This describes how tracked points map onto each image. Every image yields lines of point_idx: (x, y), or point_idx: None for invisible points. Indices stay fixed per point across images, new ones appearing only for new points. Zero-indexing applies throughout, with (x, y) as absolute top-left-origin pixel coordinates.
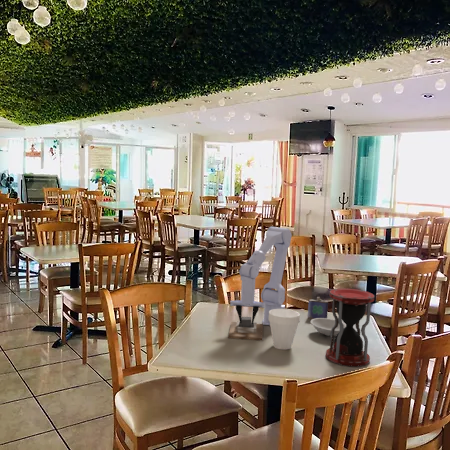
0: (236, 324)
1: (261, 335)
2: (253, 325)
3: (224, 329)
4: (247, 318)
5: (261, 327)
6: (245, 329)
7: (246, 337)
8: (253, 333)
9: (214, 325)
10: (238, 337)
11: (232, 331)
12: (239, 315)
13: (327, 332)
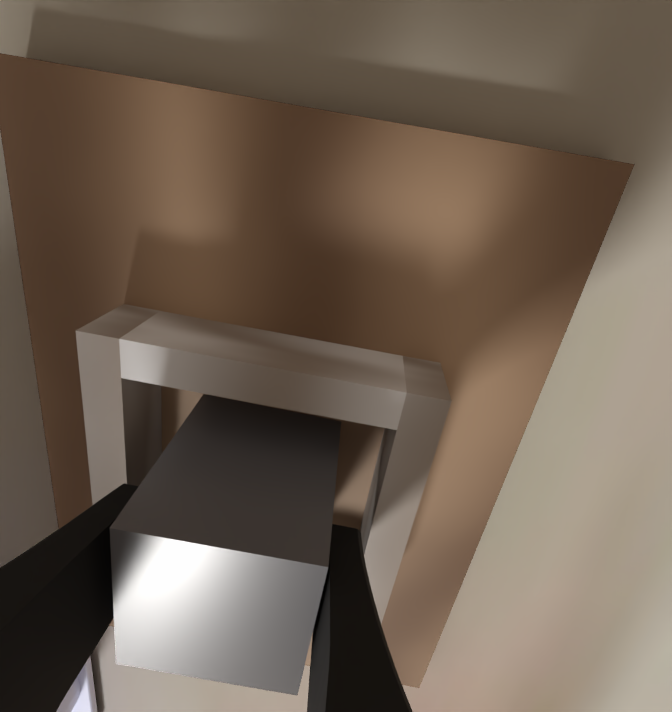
0: None
1: (27, 206)
2: None
3: (546, 527)
4: (191, 606)
5: None
6: (277, 357)
7: (285, 105)
8: (161, 302)
9: (631, 641)
10: (432, 132)
11: (488, 387)
12: (374, 682)
13: None
